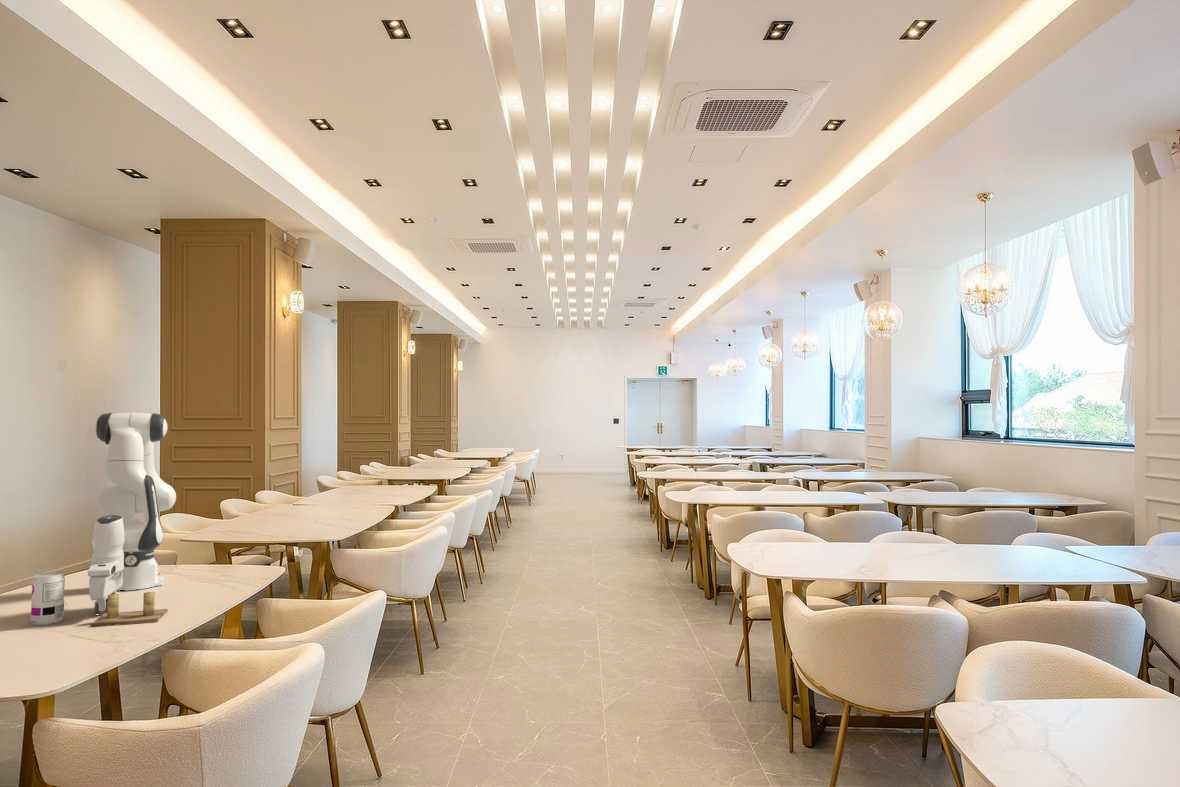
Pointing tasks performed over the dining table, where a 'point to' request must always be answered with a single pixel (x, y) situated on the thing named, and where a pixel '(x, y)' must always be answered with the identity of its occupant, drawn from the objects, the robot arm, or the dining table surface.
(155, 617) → the post board
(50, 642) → the dining table surface
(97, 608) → the ring
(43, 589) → the supplement can
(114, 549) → the robot arm
